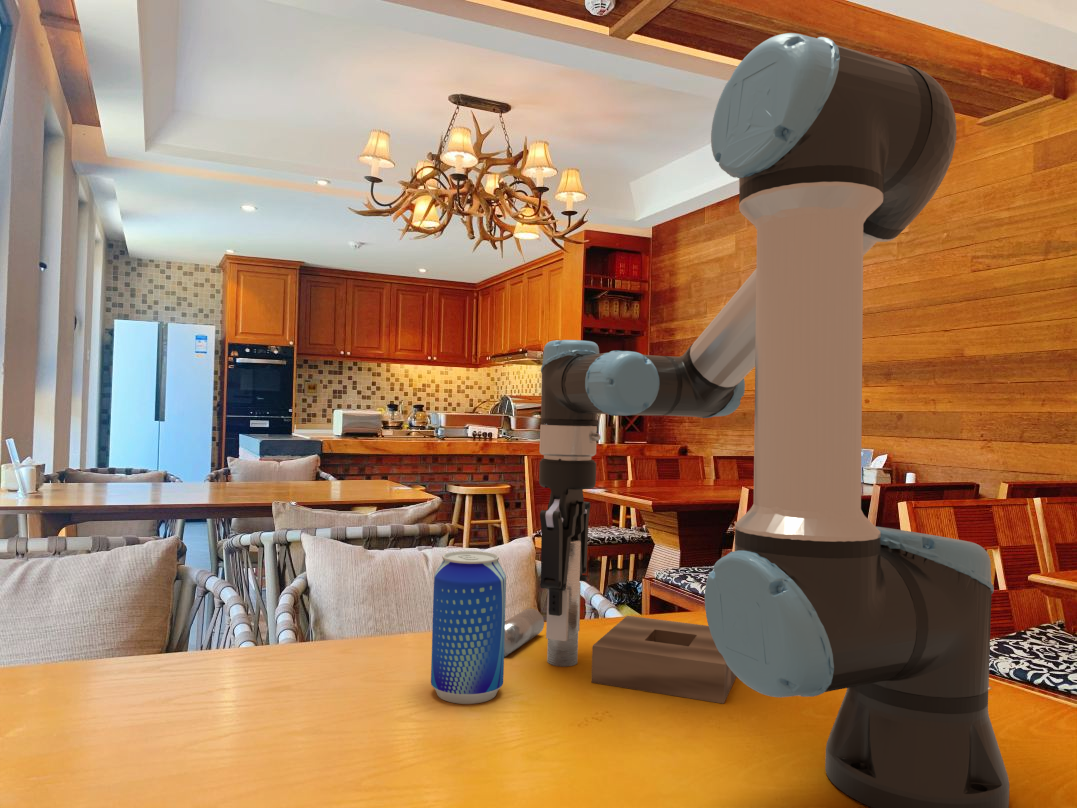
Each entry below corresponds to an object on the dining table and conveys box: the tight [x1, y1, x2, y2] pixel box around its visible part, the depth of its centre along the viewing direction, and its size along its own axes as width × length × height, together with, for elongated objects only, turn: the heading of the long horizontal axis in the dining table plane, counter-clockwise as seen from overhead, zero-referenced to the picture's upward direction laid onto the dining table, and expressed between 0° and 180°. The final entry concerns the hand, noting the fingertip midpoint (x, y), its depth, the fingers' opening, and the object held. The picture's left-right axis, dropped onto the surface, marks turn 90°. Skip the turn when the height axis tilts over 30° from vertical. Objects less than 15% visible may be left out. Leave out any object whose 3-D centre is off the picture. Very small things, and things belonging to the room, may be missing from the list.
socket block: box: [591, 615, 737, 705], centre depth 103 cm, size 16×16×4 cm
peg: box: [546, 539, 581, 667], centre depth 106 cm, size 4×4×16 cm
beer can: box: [430, 550, 507, 705], centre depth 93 cm, size 8×8×16 cm
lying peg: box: [504, 608, 545, 658], centre depth 113 cm, size 12×4×4 cm
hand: (563, 634), depth 106 cm, fingers closed on peg, 4 cm apart
